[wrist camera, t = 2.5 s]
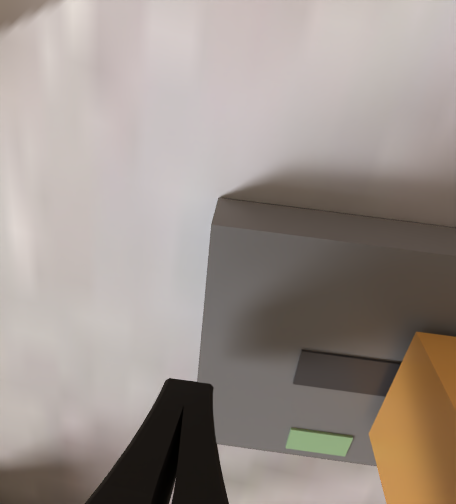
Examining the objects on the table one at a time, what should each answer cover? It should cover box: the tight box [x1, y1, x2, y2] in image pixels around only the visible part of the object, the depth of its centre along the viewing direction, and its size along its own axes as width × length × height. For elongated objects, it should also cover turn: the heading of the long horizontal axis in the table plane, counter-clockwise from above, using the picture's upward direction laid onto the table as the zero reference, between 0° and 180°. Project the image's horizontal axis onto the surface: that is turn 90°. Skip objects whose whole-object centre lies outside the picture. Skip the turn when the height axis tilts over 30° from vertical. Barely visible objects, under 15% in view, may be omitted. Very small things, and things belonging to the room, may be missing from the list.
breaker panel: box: [197, 198, 456, 466], centre depth 14 cm, size 16×10×2 cm, turn 84°
